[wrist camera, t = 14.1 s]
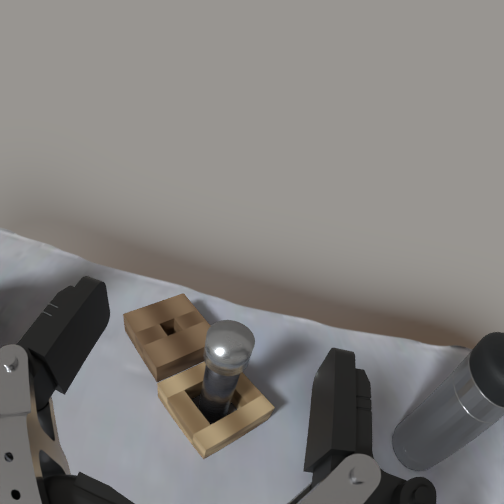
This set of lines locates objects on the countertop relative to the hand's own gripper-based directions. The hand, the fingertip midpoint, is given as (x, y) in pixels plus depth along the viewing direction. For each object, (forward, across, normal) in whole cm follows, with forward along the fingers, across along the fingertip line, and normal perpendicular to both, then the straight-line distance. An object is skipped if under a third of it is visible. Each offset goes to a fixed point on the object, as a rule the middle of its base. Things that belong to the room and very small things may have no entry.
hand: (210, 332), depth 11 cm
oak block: (+12, 0, +29) cm, 32 cm away
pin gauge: (+12, 0, +29) cm, 32 cm away
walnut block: (+20, +9, +30) cm, 37 cm away
